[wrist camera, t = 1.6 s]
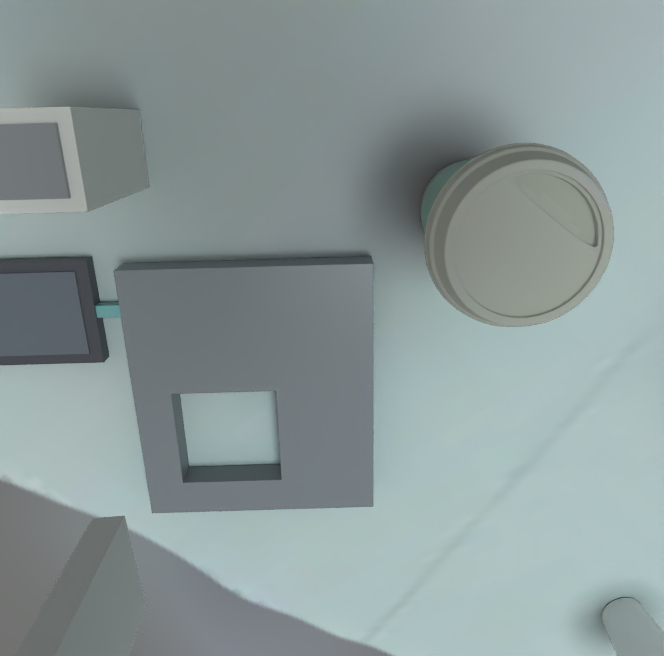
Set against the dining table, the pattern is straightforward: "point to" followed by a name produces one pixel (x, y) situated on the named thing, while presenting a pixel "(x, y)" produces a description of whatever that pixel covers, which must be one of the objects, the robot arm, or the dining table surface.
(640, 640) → the cup
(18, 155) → the block
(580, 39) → the dining table surface
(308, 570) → the dining table surface
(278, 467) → the socket plate
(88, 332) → the phone
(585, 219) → the coffee cup
